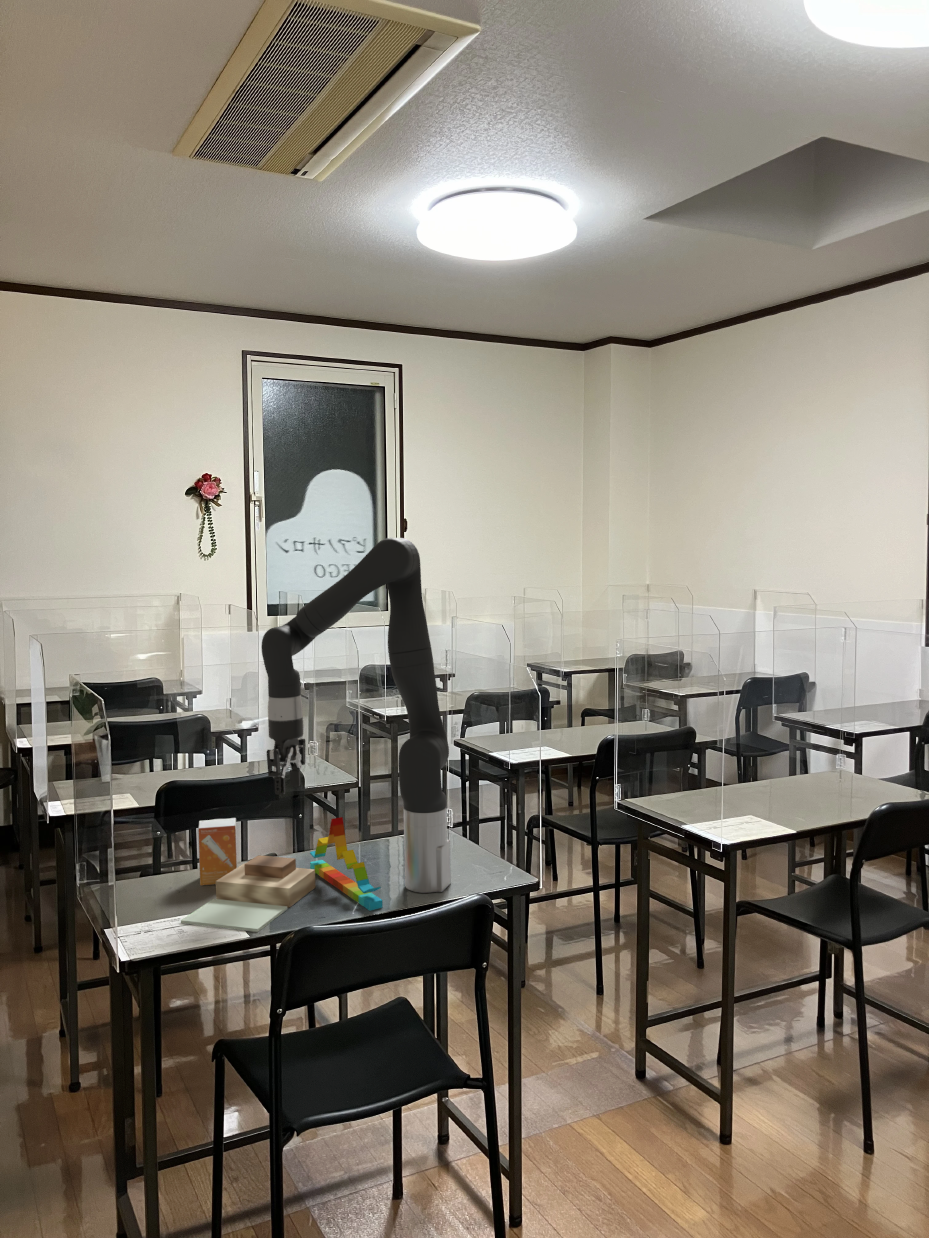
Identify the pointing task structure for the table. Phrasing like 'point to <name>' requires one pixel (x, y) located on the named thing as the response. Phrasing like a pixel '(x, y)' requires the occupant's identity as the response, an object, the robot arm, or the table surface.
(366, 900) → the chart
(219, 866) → the small box
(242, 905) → the sage mat
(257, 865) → the walnut tile
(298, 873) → the birch deck
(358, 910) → the table surface
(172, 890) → the table surface
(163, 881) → the table surface
